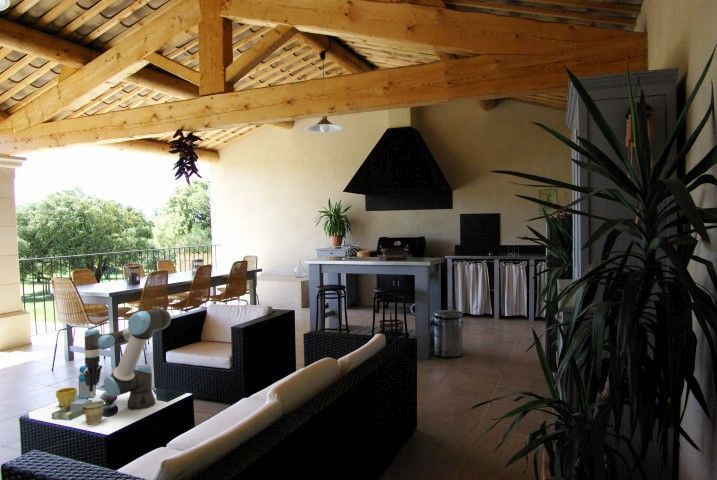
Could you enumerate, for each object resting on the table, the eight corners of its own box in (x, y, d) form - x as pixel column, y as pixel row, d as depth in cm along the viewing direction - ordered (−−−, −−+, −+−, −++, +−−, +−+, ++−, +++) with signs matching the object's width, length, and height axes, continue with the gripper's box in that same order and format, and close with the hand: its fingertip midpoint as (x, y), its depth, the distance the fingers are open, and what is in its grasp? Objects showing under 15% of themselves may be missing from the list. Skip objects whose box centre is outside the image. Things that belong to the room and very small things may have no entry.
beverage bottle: (80, 402, 290) (79, 369, 290) (77, 398, 297) (76, 366, 297) (95, 398, 296) (95, 366, 296) (92, 395, 302) (91, 363, 302)
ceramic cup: (94, 427, 249) (93, 407, 249) (78, 425, 252) (78, 406, 252) (113, 418, 262) (113, 399, 262) (98, 416, 264) (98, 398, 264)
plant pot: (67, 410, 277) (67, 393, 277) (52, 409, 279) (51, 392, 279) (81, 404, 287) (80, 387, 287) (66, 403, 289) (65, 386, 289)
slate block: (92, 408, 274) (92, 399, 274) (82, 412, 268) (82, 403, 268) (80, 407, 276) (80, 399, 276) (70, 412, 269) (70, 403, 269)
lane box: (104, 406, 281) (104, 399, 282) (70, 422, 257) (70, 414, 257) (87, 405, 284) (87, 398, 284) (51, 421, 259) (51, 413, 259)
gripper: (95, 353, 288) (95, 392, 288) (78, 358, 275) (78, 399, 275) (106, 353, 286) (106, 393, 286) (89, 359, 274) (89, 400, 274)
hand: (92, 396), depth 281 cm, fingers closed
